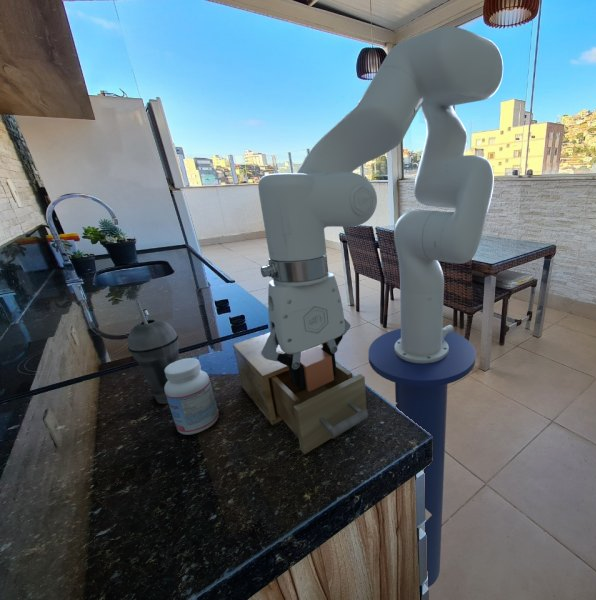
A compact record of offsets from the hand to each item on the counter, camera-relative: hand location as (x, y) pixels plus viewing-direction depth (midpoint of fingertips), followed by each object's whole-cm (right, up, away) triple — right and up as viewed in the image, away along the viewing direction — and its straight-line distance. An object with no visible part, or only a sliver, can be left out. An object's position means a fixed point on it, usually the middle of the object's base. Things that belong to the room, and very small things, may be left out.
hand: (314, 378), depth 51 cm
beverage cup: (-30, -6, +10) cm, 32 cm away
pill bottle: (-20, -8, +3) cm, 22 cm away
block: (0, 0, 0) cm, 0 cm away
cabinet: (-8, -5, +11) cm, 14 cm away
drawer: (+1, -7, +2) cm, 8 cm away
